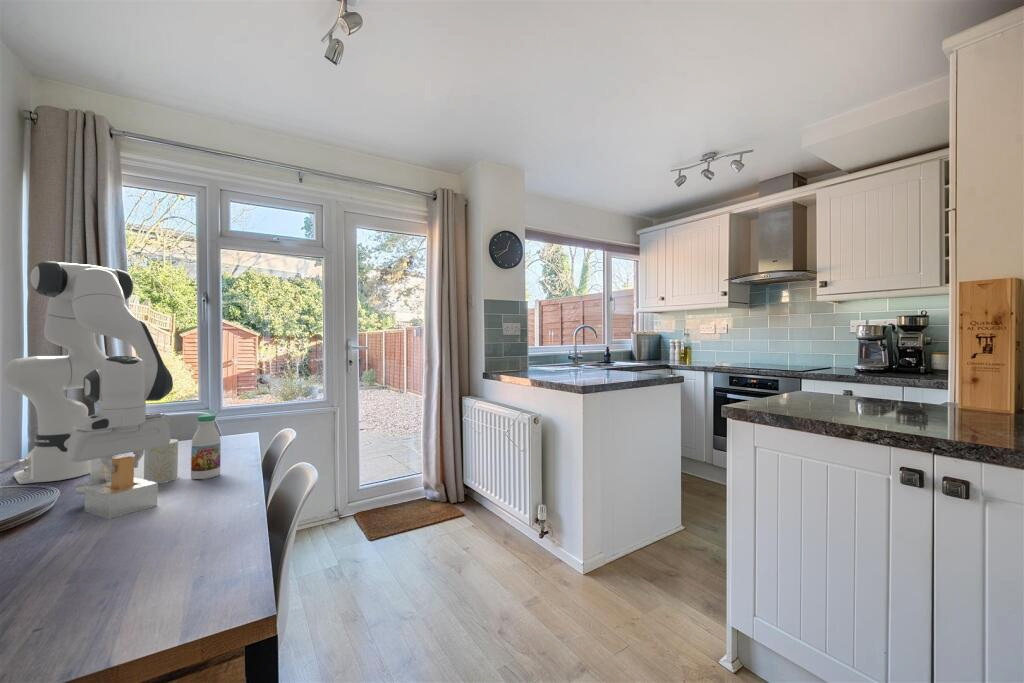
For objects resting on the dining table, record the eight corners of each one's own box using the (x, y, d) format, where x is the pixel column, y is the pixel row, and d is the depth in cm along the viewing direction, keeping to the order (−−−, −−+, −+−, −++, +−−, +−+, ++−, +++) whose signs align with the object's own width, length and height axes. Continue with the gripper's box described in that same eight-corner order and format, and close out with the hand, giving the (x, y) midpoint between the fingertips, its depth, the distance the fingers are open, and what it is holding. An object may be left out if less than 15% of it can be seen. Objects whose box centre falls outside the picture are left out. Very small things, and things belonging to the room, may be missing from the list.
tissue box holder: (67, 505, 109) (69, 437, 110) (115, 493, 119) (116, 430, 119) (108, 519, 101) (110, 446, 101) (157, 505, 110) (158, 438, 110)
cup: (147, 486, 125) (148, 446, 125) (140, 480, 130) (141, 442, 130) (180, 479, 131) (181, 441, 131) (173, 474, 136) (173, 438, 136)
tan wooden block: (110, 500, 107) (111, 458, 108) (125, 496, 110) (125, 455, 110) (118, 502, 106) (119, 459, 106) (133, 498, 109) (134, 457, 109)
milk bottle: (185, 477, 133) (186, 416, 133) (212, 471, 139) (213, 412, 140) (198, 481, 129) (199, 418, 129) (225, 475, 136) (226, 414, 136)
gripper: (162, 411, 119) (162, 459, 119) (64, 423, 100) (63, 480, 100) (175, 412, 116) (174, 461, 116) (77, 425, 98) (75, 483, 98)
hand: (122, 470), depth 108 cm, fingers closed on tan wooden block, 3 cm apart
